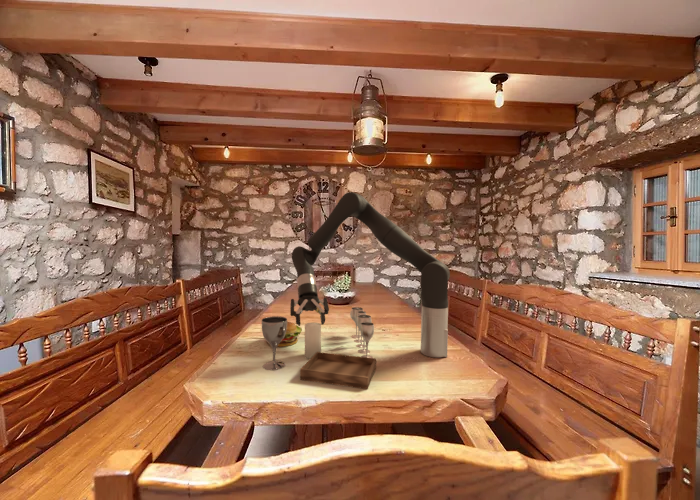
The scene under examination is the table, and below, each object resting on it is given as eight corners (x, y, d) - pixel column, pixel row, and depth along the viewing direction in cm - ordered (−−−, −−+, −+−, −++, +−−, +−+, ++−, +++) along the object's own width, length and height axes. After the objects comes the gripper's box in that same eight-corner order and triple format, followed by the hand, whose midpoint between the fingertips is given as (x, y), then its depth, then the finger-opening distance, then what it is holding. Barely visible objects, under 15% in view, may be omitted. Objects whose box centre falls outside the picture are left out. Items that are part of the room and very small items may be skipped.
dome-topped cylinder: (323, 353, 110) (323, 323, 109) (317, 359, 104) (317, 327, 104) (308, 352, 111) (308, 322, 111) (302, 358, 106) (302, 326, 105)
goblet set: (376, 360, 105) (377, 321, 105) (359, 360, 104) (360, 322, 104) (362, 334, 133) (362, 303, 132) (348, 334, 132) (349, 304, 132)
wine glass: (291, 362, 102) (291, 317, 101) (278, 372, 94) (278, 323, 94) (270, 359, 104) (270, 315, 104) (256, 368, 97) (256, 321, 96)
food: (284, 351, 112) (284, 329, 112) (257, 343, 119) (257, 323, 119) (308, 341, 124) (309, 321, 123) (283, 334, 131) (283, 316, 131)
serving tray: (376, 368, 98) (376, 358, 98) (367, 389, 85) (367, 377, 85) (316, 361, 103) (316, 351, 103) (300, 379, 90) (300, 369, 90)
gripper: (289, 282, 118) (292, 320, 107) (326, 281, 122) (332, 317, 111) (288, 293, 123) (290, 330, 113) (323, 292, 127) (328, 328, 117)
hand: (311, 324), depth 112 cm, fingers open, 8 cm apart
